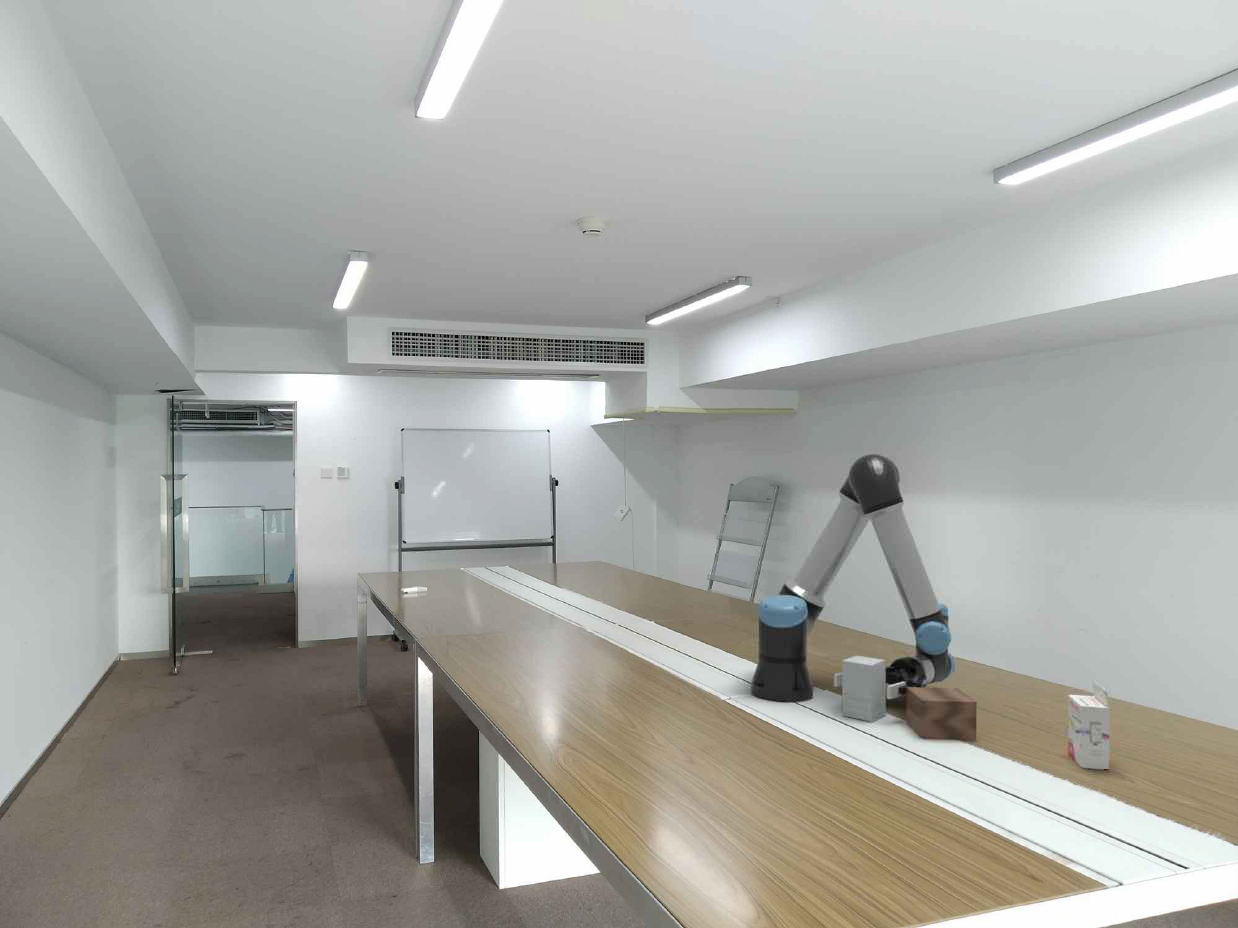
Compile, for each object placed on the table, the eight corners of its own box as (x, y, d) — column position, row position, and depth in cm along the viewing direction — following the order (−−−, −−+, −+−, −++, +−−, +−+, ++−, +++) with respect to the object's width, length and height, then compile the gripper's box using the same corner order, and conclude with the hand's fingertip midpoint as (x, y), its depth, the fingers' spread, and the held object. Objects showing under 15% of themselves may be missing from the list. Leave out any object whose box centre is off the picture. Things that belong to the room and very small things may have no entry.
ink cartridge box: (1066, 753, 165) (1067, 678, 166) (1094, 755, 164) (1094, 680, 165) (1081, 768, 157) (1081, 689, 157) (1110, 770, 156) (1110, 691, 156)
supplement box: (886, 715, 190) (887, 659, 190) (871, 722, 184) (871, 664, 185) (856, 709, 195) (856, 654, 195) (840, 715, 189) (841, 659, 190)
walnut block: (921, 739, 174) (922, 700, 174) (906, 723, 185) (906, 686, 185) (976, 740, 173) (976, 701, 173) (957, 724, 184) (957, 688, 184)
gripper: (960, 698, 193) (912, 715, 179) (865, 677, 212) (814, 691, 198) (961, 666, 193) (912, 680, 179) (865, 648, 212) (815, 659, 198)
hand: (861, 686), depth 188 cm, fingers open, 13 cm apart
